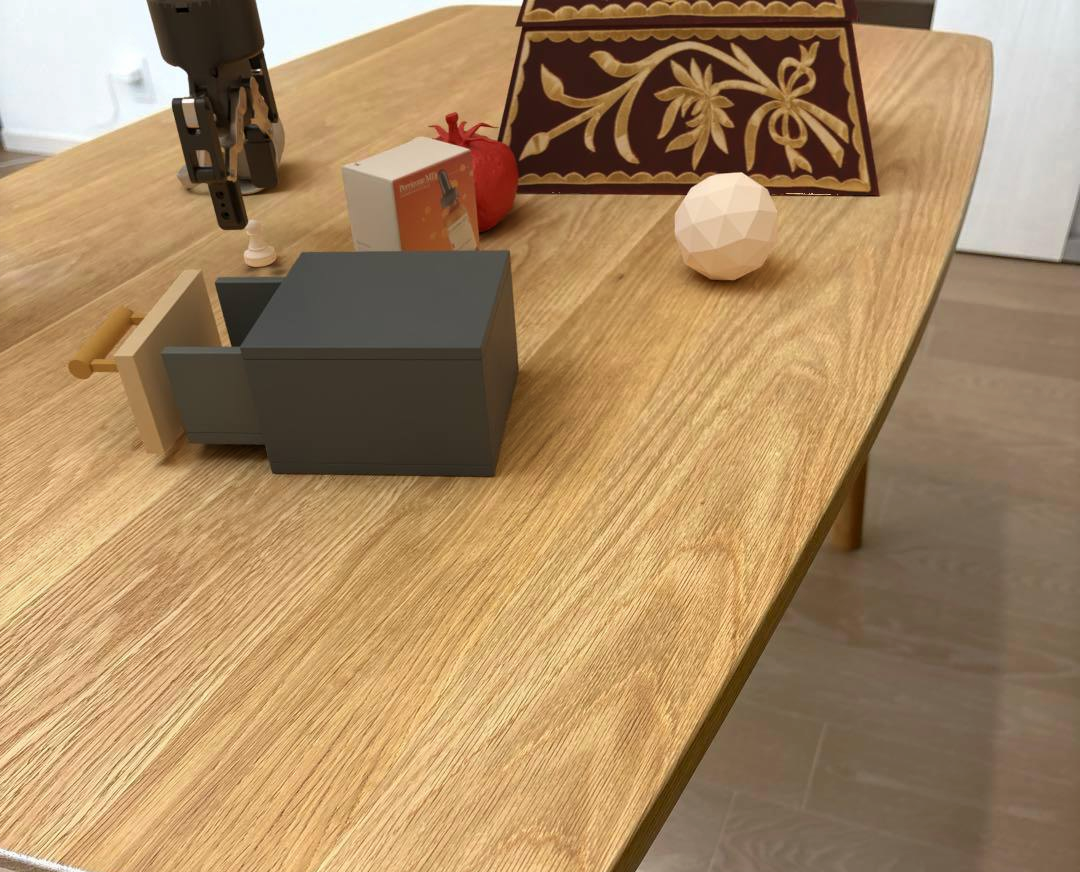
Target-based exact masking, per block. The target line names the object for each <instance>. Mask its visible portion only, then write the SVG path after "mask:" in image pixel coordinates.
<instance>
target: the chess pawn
mask: <svg viewBox="0 0 1080 872" xmlns="http://www.w3.org/2000/svg"><path fill="white" fill-rule="evenodd" d="M244 229H245V231H246V235H247V236H249V244H248V246H247V248H248V249H246V250H245V251H244V252H243V259H244V263H245V264H246V265H247V266H250V267H253V268H261V267H266V266H269V265H271V264H273V263H274V262H275V261H276V260H277V254H276V251H275V250H276V249H275V248H274V247H273V246H270V245H268V243H267V242H265V240H264V238H263V237H262V235H261V234H262V233H263V229H262V224H261V222H260V221H259V220H257V219H248V224H247V226H246V227H245V228H244Z"/></svg>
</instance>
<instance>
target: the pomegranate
mask: <svg viewBox="0 0 1080 872" xmlns="http://www.w3.org/2000/svg"><path fill="white" fill-rule="evenodd" d="M444 119H445V120H444V121H445V123H446V124H447V125H448V127H447V128H448V131H447V130H446V129H444V128H443V127H442V126H440V125H437V124H432V125H427V128H434V129H435V130H436V132H437V134H438V135H439V136H437V137H430V138H431V139H435V140H438V141H442V142H446V143H449V144H453V145H457V146H460V147H464V148H467V149H470V150H471V153H472V164H473V176H474V187H475V198H476V209H477V221H478V232H479V233H483V232H486V231H488V230H490V229H494V228H495V226H496V225H497V224H498V223H499V222H501V221H502V220H503V219H504V218H505V217H506V216H507V215H508V214H509V212H510V211H511V210H512V209H513V207H514V203H515V199H516V195H517V193H516V192H517V187H518V180H519V179H518V169H517V163H516V161H515V156H514V154H513V152H512V151H511V149H510V148H509V147H508V146H507V145H506V144H504V143H502V142H499V141H497V139H496V140H495V139H492V138H490V137H488V135H484V134H483V135H482V134H479V133H477V131H478V130H479V129H480V128H491V129H500V126H493V125H490V124H488V123H486V122H479V123H477V124H475V125H474V126H472V127H470V128H469V129H468V130H465V125H467V124H468V122H467V121H465V120H462V121H461V122H460V124H459V125H458V121H459V114H458V112H456V111H454V112H451V113H450V112H449V113H448V114H446V115H445V118H444Z"/></svg>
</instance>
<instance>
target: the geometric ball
mask: <svg viewBox="0 0 1080 872" xmlns="http://www.w3.org/2000/svg"><path fill="white" fill-rule="evenodd" d="M771 196H772V195H770V194H769V192H768V190H767V189H766V188H764V187H763V186H761V185H760V184H758V183H757V182H755V181H754V180H752V179H751V178H749V177H748V176H746V175H745V174H743V173H742V172H741V173H727V174H716V175H713V176H710V177H708V178H706V179H705V180H703V181H702V182H700V183H698V184H697V185H695V186H694V187H692V188H691V189H690V190H689V192H688V194H687V195H685V196H684V197H683V198H684V199H683V200H682V201H681V203H680V205H679V206H678V208H677V210H676V211H675V213H674V237H675V240H676V244H677V246H678V248H679V251H680V255H681V257H682V259H683V262H684V265H686V266H687V267H688V268H691V269H693V270H694V271H696V272H697V273H699V274H701V275H702V276H704V277H705V278H707V279H709V280H711V281H714V280H715V281H736V280H737V279H740V278H742V277H743V276H745V275H747V274H749V273H752V272H753V271H755V270H757V269H759V268H762V267H763V265H764V264H765V262H766V260H767V259H768V258H769V255H770V254H771V252H772V251H773V249H774V248H775V246H776V245H777V244H778V242H779V212H778V210H777V207H776V206H775V203H774V201H773V198H772V197H771Z"/></svg>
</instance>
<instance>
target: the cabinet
mask: <svg viewBox="0 0 1080 872" xmlns="http://www.w3.org/2000/svg"><path fill="white" fill-rule="evenodd" d="M284 277H285V278H284V280H283V281H282V283H281V285H280V286H279V288H278V289H277V291H276V292H275V294H274V295H273V297H272V298H271V300H270V301H269V303H268V305H267V306H266V308H265V309H264V311H263V312H262V314H261V315H260V317H259V318H258V320H257V321H256V323H255V324H254V326H253V328H252V329H251V331H250V332H249V334H248V335H247V337H246V338H245V340H244V341H243V343H242V344H241V346H240V350H241V354H242V358H243V363H244V367H245V370H246V374H247V378H248V382H249V386H250V390H251V394H252V397H253V401H254V405H255V409H256V413H257V417H258V421H259V425H260V428H261V432H262V436H263V440H264V444H265V445H264V447H265V451H266V455H267V459H268V463H269V466H270V469H271V473H272V474H303V475H304V474H307V475H308V474H312V475H314V474H316V475H371V476H372V475H373V476H374V475H375V476H376V475H378V476H439V477H441V476H444V477H445V476H446V477H494V476H495V473H496V469H497V465H498V460H499V456H500V452H501V447H502V443H503V438H504V434H505V430H506V425H507V422H508V417H509V412H510V409H511V408H510V407H511V405H512V399H513V397H514V396H513V394H514V392H515V391H514V390H515V386H516V383H517V378H518V374H519V369H520V368H519V353H518V352H519V351H518V340H517V327H516V314H515V313H516V311H515V300H514V299H515V298H514V289H513V287H514V286H513V274H512V262H511V251H510V249H493V250H492V249H487V250H486V249H483V250H481V249H480V250H471V251H361V252H355V251H301V252H300V253H299V255H298V257H297V258H296V260H295V261H294V263H293V265H292V266H291V268H290V269H289V271H288V272H287V274H286V275H285V276H284Z"/></svg>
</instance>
